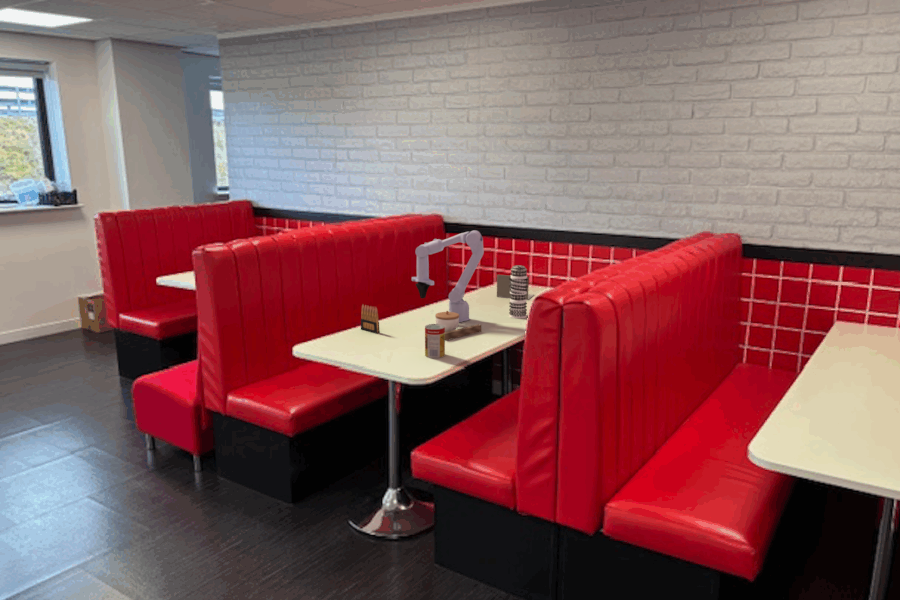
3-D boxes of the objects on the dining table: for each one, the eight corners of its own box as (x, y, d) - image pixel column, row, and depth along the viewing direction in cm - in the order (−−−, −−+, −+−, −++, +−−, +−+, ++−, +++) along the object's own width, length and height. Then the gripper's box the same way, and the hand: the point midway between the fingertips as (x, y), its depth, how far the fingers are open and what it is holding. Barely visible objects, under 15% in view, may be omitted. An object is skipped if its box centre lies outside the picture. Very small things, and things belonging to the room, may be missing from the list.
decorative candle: (517, 319, 331) (518, 268, 326) (504, 315, 339) (505, 265, 333) (531, 316, 337) (532, 266, 331) (518, 313, 344) (519, 263, 338)
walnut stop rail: (478, 330, 312) (478, 324, 311) (481, 331, 310) (481, 325, 310) (441, 339, 297) (441, 332, 297) (445, 340, 296) (445, 333, 295)
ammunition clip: (379, 332, 308) (379, 306, 305) (376, 333, 306) (375, 307, 304) (363, 328, 315) (363, 303, 312) (360, 329, 313) (359, 303, 311)
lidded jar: (463, 330, 313) (463, 310, 311) (451, 335, 304) (451, 315, 302) (443, 326, 318) (443, 307, 316) (430, 332, 309) (430, 312, 307)
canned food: (444, 352, 279) (444, 323, 277) (445, 358, 272) (445, 329, 269) (425, 352, 279) (424, 323, 276) (425, 358, 271) (424, 329, 269)
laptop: (534, 296, 384) (535, 273, 381) (528, 300, 373) (528, 277, 370) (503, 293, 391) (504, 270, 388) (496, 297, 379) (496, 274, 377)
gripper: (406, 268, 330) (406, 296, 333) (426, 273, 319) (426, 301, 322) (417, 267, 334) (418, 294, 337) (437, 271, 324) (437, 299, 327)
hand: (422, 297), depth 330 cm, fingers closed
